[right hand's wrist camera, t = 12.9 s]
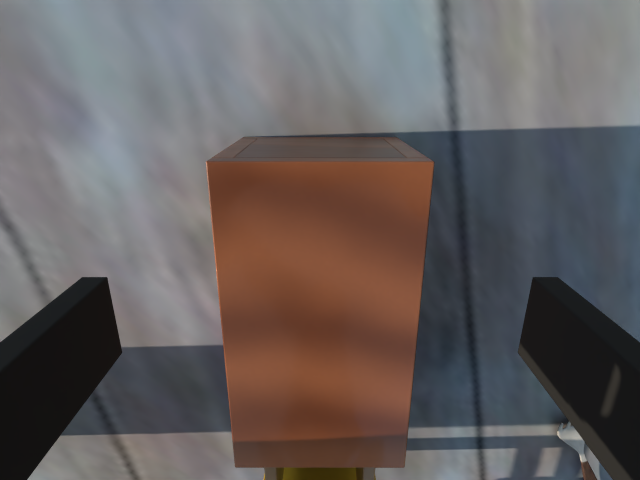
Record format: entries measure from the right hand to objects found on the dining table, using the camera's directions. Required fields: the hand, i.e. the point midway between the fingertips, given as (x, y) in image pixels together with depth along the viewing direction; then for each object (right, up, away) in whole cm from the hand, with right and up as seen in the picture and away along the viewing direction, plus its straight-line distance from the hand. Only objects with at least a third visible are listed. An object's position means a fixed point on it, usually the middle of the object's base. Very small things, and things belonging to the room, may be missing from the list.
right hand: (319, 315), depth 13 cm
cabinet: (0, +1, +18) cm, 18 cm away
